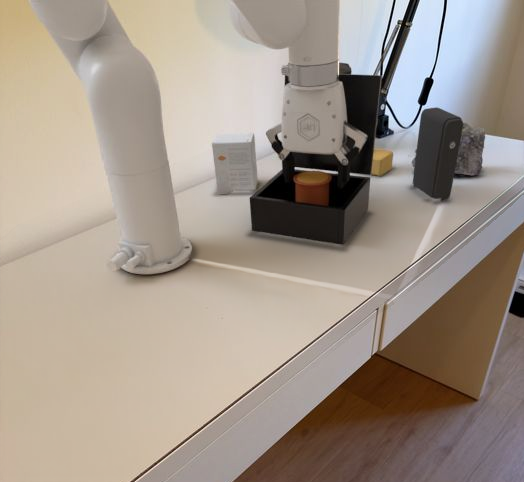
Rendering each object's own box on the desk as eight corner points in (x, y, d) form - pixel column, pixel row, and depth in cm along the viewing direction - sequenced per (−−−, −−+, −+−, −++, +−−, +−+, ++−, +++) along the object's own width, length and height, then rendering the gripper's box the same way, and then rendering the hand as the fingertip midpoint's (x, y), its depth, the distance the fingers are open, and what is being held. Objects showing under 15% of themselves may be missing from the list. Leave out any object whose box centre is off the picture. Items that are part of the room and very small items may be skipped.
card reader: (453, 200, 100) (468, 117, 91) (434, 204, 99) (447, 120, 90) (428, 184, 107) (439, 105, 98) (410, 187, 106) (420, 108, 97)
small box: (258, 183, 112) (255, 132, 106) (255, 194, 108) (252, 141, 101) (221, 184, 113) (216, 133, 107) (217, 194, 109) (211, 142, 102)
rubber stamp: (392, 168, 115) (398, 109, 108) (380, 176, 112) (385, 117, 104) (352, 161, 120) (355, 104, 113) (339, 168, 117) (341, 111, 109)
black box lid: (380, 75, 85) (387, 74, 88) (284, 72, 91) (294, 70, 94) (370, 175, 93) (376, 170, 96) (282, 165, 99) (291, 161, 102)
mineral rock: (408, 174, 112) (414, 124, 106) (430, 159, 118) (436, 111, 112) (467, 185, 105) (477, 133, 99) (487, 169, 112) (497, 119, 106)
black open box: (343, 249, 87) (344, 210, 83) (252, 235, 93) (249, 197, 89) (367, 213, 98) (370, 177, 93) (284, 202, 104) (283, 167, 99)
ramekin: (323, 228, 92) (324, 186, 87) (288, 223, 94) (287, 182, 90) (335, 213, 96) (336, 172, 92) (301, 208, 99) (301, 168, 94)
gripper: (253, 79, 81) (261, 186, 92) (362, 81, 75) (357, 196, 86) (272, 68, 87) (278, 171, 97) (376, 69, 80) (370, 179, 91)
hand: (315, 182), depth 91 cm, fingers open, 9 cm apart
